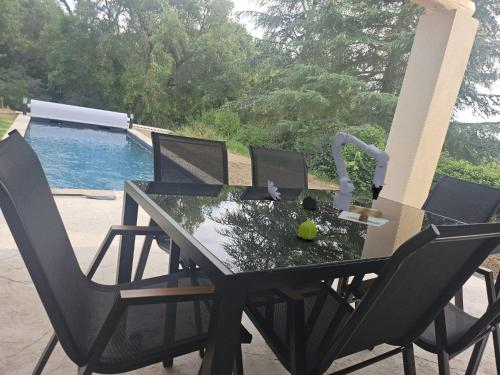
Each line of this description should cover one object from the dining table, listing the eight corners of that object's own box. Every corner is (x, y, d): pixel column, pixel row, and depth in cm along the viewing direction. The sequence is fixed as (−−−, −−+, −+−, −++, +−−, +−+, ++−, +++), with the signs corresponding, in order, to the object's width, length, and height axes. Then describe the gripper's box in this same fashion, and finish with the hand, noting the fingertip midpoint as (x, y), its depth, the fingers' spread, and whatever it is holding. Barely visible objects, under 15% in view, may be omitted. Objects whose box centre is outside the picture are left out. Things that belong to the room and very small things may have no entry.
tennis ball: (303, 235, 153) (306, 218, 152) (318, 240, 149) (321, 223, 148) (293, 237, 148) (296, 220, 146) (309, 243, 143) (312, 225, 142)
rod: (348, 211, 195) (349, 205, 194) (349, 210, 198) (350, 204, 197) (380, 218, 190) (382, 212, 189) (381, 217, 193) (382, 211, 192)
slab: (337, 218, 192) (337, 217, 192) (343, 211, 212) (343, 210, 212) (387, 229, 184) (387, 228, 184) (388, 221, 204) (388, 220, 204)
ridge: (358, 220, 191) (359, 215, 191) (359, 217, 199) (361, 212, 198) (366, 222, 190) (367, 216, 189) (367, 219, 197) (368, 214, 197)
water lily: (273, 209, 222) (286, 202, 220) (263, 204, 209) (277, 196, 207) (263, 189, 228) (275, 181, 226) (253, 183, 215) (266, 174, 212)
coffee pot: (299, 207, 204) (304, 207, 212) (331, 219, 197) (334, 219, 205) (304, 194, 204) (309, 194, 211) (336, 206, 196) (339, 206, 204)
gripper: (387, 176, 199) (382, 202, 201) (388, 174, 212) (382, 198, 215) (373, 174, 201) (368, 199, 204) (374, 172, 215) (370, 195, 217)
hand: (374, 198), depth 209 cm, fingers open, 7 cm apart
